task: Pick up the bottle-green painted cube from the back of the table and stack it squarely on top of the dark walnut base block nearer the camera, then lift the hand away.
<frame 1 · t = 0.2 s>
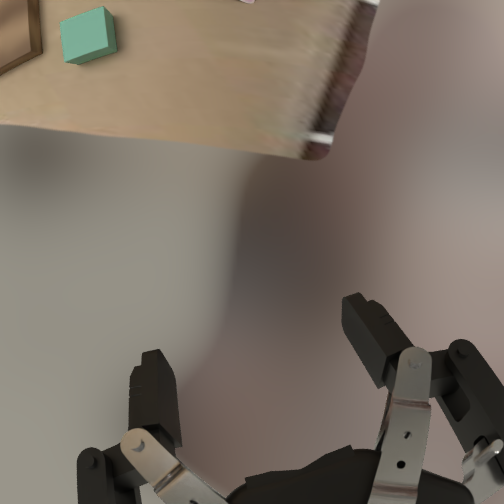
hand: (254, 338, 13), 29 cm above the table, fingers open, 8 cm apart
green cube: (95, 39, 25), on the table
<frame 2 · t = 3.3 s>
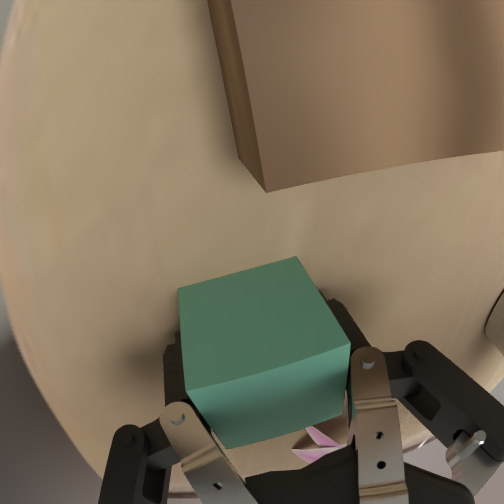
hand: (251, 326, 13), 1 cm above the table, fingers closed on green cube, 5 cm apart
green cube: (248, 316, 14), on the table, touching gripper
lily: (335, 420, 23), on the table
when the fingers open (6 cm above the table, at t = 7.4 s): green cube drops 2 cm, resting on walnut base.
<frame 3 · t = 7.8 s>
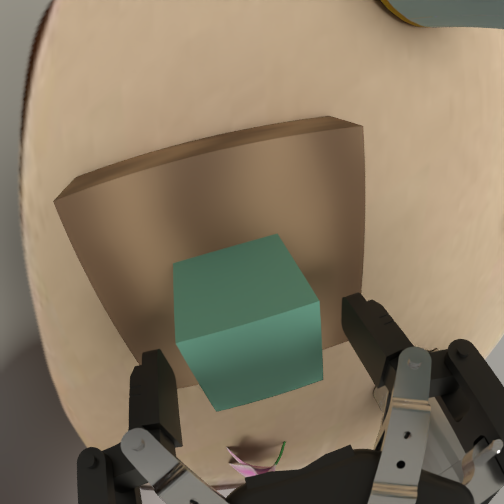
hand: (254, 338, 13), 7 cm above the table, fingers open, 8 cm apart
green cube: (236, 289, 15), point 3 cm above the table, touching walnut base
lily: (253, 447, 34), on the table
walnut base: (227, 249, 19), on the table, touching green cube
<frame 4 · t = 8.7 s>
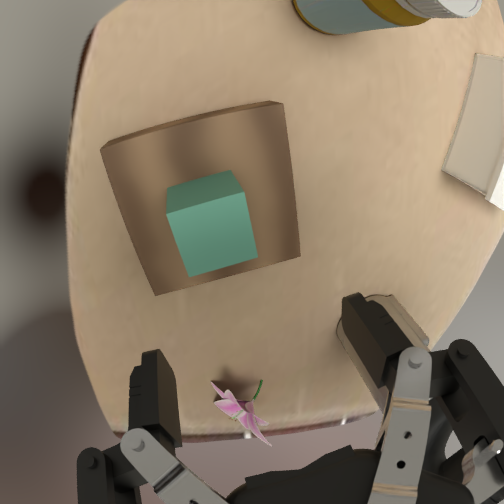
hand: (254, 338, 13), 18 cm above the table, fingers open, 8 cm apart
green cube: (206, 207, 24), point 3 cm above the table, touching walnut base
butter dish: (488, 135, 31), on the table
bottle: (325, 2, 20), on the table
lily: (234, 385, 43), on the table
walnut base: (205, 190, 28), on the table, touching green cube
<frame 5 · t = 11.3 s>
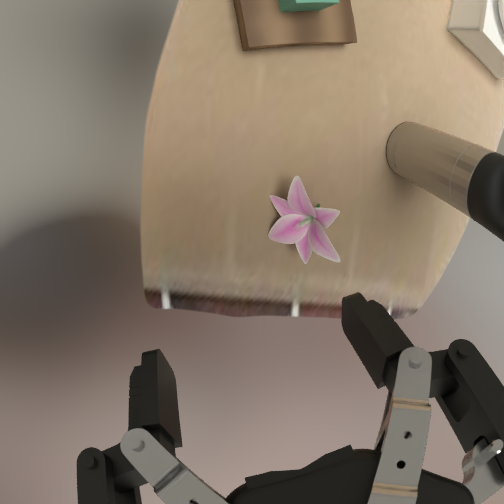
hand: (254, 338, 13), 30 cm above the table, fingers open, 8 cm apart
butter dish: (478, 22, 32), on the table
lily: (292, 209, 45), on the table
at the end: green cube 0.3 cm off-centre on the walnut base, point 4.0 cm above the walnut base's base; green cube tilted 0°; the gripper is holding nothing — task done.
